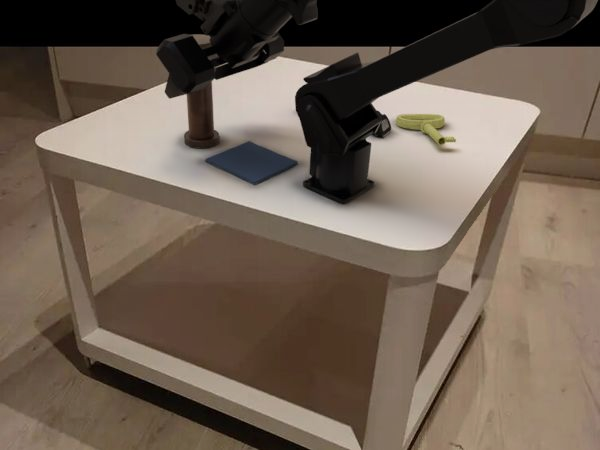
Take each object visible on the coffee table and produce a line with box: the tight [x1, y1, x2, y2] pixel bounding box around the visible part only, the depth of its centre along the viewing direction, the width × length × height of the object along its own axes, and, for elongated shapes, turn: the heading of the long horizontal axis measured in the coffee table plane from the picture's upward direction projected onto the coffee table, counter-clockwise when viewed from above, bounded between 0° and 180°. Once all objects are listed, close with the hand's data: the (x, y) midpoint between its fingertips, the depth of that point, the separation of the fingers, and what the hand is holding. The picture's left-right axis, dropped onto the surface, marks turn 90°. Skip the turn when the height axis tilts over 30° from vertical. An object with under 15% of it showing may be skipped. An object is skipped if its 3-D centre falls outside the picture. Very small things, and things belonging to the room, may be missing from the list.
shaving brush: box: [183, 33, 220, 149], centre depth 82 cm, size 5×5×14 cm
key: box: [395, 113, 457, 146], centre depth 90 cm, size 7×12×2 cm, turn 26°
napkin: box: [204, 140, 299, 186], centre depth 80 cm, size 9×8×1 cm
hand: (191, 85), depth 82 cm, fingers open, 9 cm apart
